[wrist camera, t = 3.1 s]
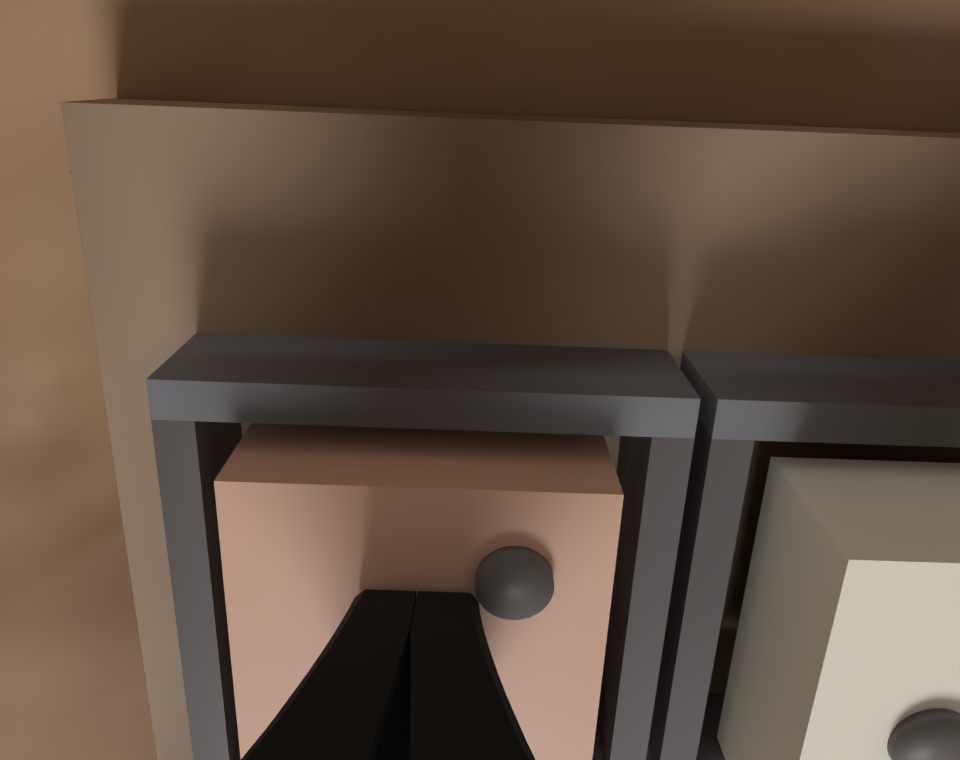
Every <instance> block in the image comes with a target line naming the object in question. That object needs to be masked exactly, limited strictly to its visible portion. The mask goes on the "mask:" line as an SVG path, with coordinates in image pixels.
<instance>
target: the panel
mask: <svg viewBox="0 0 960 760" xmlns="http://www.w3.org/2000/svg"><path fill="white" fill-rule="evenodd" d="M61 106H62V113H63V120H64V126H65V133H66V140H67V147H68V154H69V160H70V167H71V174H72V181H73V188H74V194H75V201H76V208H77V215H78V222H79V228H80V235H81V242H82V249H83V256H84V263H85V269H86V276H87V283H88V290H89V297H90V303H91V310H92V317H93V324H94V331H95V337H96V344H97V351H98V358H99V365H100V371H101V378H102V385H103V392H104V399H105V405H106V412H107V419H108V426H109V433H110V439H111V446H112V453H113V460H114V467H115V474H116V480H117V487H118V494H119V501H120V508H121V514H122V521H123V528H124V535H125V542H126V548H127V555H128V562H129V569H130V576H131V582H132V589H133V596H134V603H135V610H136V616H137V623H138V630H139V637H140V644H141V650H142V657H143V664H144V671H145V678H146V685H147V691H148V698H149V705H150V712H151V719H152V725H153V732H154V739H155V746H156V753H157V759H158V760H241V759H240V748H239V738H238V727H237V717H236V706H235V696H234V686H233V675H232V665H231V654H230V644H229V634H228V623H227V613H226V602H225V592H224V582H223V571H222V561H221V550H220V540H219V529H218V519H217V509H216V498H215V488H214V480H215V479H216V477H217V476H218V474H219V472H220V471H221V469H222V468H223V466H224V465H225V463H226V462H227V460H228V459H229V457H230V456H231V454H232V453H233V451H234V449H235V448H236V446H237V445H238V443H239V442H240V440H241V439H242V437H243V436H244V434H245V433H246V431H247V429H248V428H249V426H250V425H251V423H261V424H290V425H319V426H348V427H377V428H406V429H435V430H464V431H493V432H522V433H551V434H580V435H604V438H605V441H606V444H607V447H608V450H609V453H610V456H611V459H612V461H613V464H614V467H615V470H616V473H617V476H618V479H619V482H620V485H621V488H622V491H623V494H624V498H623V507H622V515H621V523H620V532H619V540H618V548H617V557H616V565H615V574H614V582H613V590H612V599H611V607H610V616H609V624H608V632H607V641H606V649H605V657H604V666H603V674H602V683H601V691H600V699H599V708H598V716H597V725H596V733H595V741H594V750H593V758H592V760H725V758H724V755H723V752H722V749H721V747H720V744H719V741H718V738H717V733H718V728H719V723H720V718H721V712H722V707H723V702H724V697H725V692H726V686H727V681H728V676H729V671H730V666H731V660H732V655H733V650H734V645H735V640H736V635H737V629H738V624H739V619H740V614H741V609H742V603H743V598H744V593H745V588H746V583H747V577H748V572H749V567H750V562H751V557H752V552H753V546H754V541H755V536H756V531H757V526H758V520H759V515H760V510H761V505H762V500H763V494H764V489H765V484H766V479H767V474H768V469H769V463H770V458H771V457H792V458H821V459H850V460H879V461H909V462H938V463H960V132H937V131H913V130H888V129H863V128H838V127H813V126H788V125H764V124H739V123H714V122H689V121H664V120H639V119H615V118H590V117H565V116H540V115H515V114H490V113H466V112H441V111H416V110H391V109H366V108H341V107H317V106H292V105H267V104H242V103H217V102H192V101H168V100H143V99H118V98H113V99H99V100H85V101H70V102H61Z"/></svg>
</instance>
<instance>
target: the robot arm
mask: <svg viewBox="0 0 960 760" xmlns="http://www.w3.org/2000/svg"><path fill="white" fill-rule="evenodd" d="M241 760H535V758H534V755H533V753H532V751H531V749H530V747H529V745H528V743H527V741H526V739H525V736H524V734H523V732H522V730H521V727H520V725H519V723H518V720H517V718H516V716H515V714H514V711H513V709H512V707H511V704H510V702H509V700H508V698H507V695H506V693H505V690H504V688H503V685H502V683H501V680H500V677H499V675H498V672H497V669H496V666H495V663H494V661H493V658H492V655H491V652H490V649H489V646H488V642H487V639H486V636H485V632H484V628H483V624H482V620H481V615H480V609H479V601H478V600H477V599H476V598H475V597H474V596H473V595H472V594H471V593H465V592H433V591H418V592H417V597H416V591H401V590H369V589H364V590H363V591H362V592H361V593H359V594H358V595H357V596H356V597H355V598H354V600H353V602H352V604H351V605H350V607H349V609H348V611H347V613H346V614H345V616H344V618H343V619H342V621H341V623H340V624H339V626H338V628H337V629H336V631H335V632H334V634H333V636H332V637H331V639H330V640H329V642H328V643H327V645H326V646H325V648H324V649H323V651H322V652H321V654H320V655H319V657H318V658H317V660H316V661H315V663H314V664H313V666H312V667H311V669H310V670H309V671H308V673H307V674H306V676H305V677H304V678H303V680H302V681H301V682H300V684H299V685H298V686H297V688H296V689H295V691H294V692H293V693H292V695H291V696H290V697H289V699H288V700H287V701H286V703H285V704H284V706H283V707H282V708H281V710H280V711H279V712H278V714H277V715H276V716H275V718H274V719H273V720H272V722H271V723H270V724H269V726H268V727H267V728H266V729H265V731H264V732H263V733H262V734H261V736H260V737H259V738H258V739H257V740H256V742H255V743H254V744H253V745H252V746H251V748H250V749H249V750H248V751H247V753H246V754H245V755H244V756H243V757H242V759H241Z"/></svg>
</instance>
